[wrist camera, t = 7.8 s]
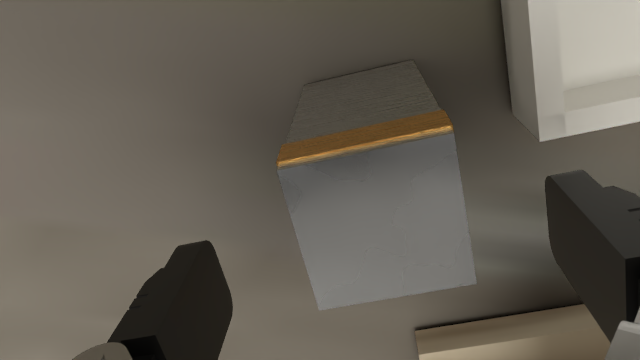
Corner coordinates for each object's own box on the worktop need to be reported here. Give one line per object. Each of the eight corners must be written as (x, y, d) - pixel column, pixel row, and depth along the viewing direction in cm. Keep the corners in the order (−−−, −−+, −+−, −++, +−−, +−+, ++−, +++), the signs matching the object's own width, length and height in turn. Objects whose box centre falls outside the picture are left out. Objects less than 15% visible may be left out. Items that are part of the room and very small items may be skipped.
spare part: (302, 84, 19) (273, 169, 12) (413, 57, 18) (456, 130, 11) (329, 183, 21) (317, 312, 13) (431, 162, 20) (479, 285, 13)
